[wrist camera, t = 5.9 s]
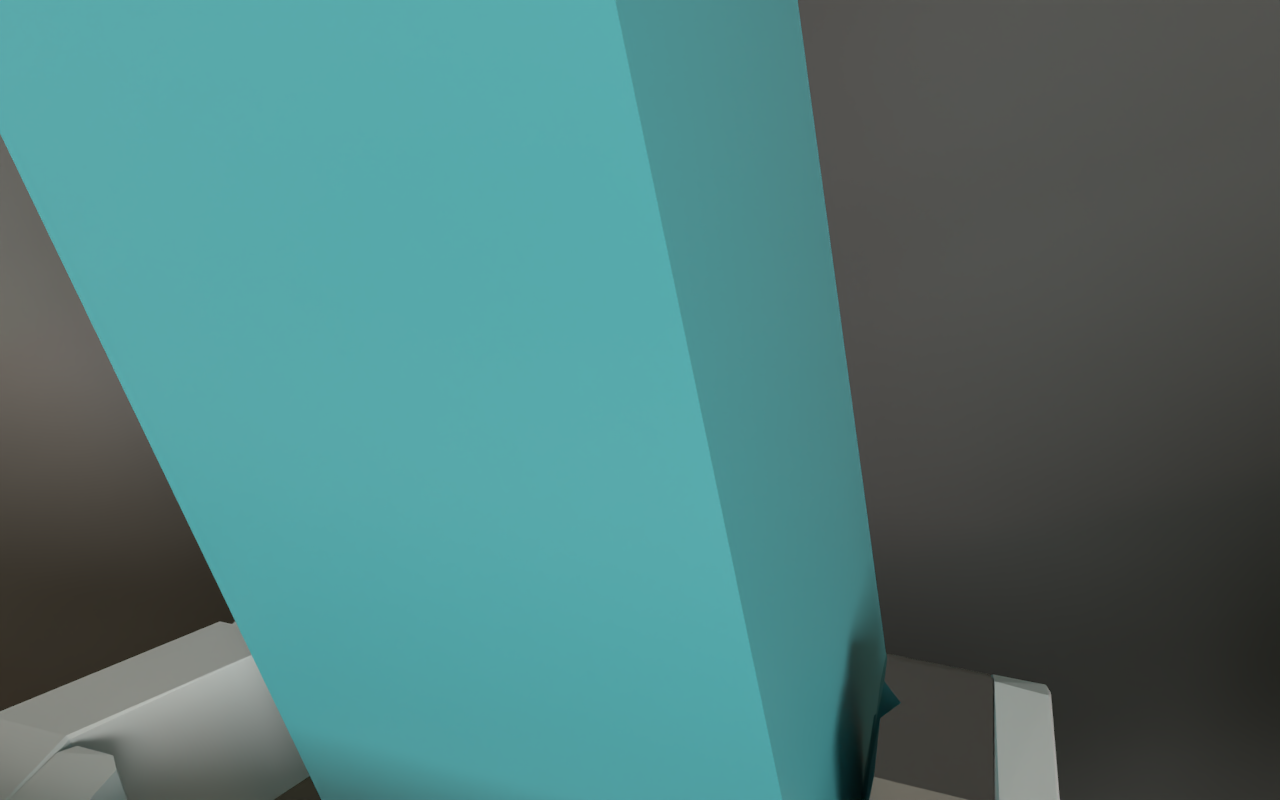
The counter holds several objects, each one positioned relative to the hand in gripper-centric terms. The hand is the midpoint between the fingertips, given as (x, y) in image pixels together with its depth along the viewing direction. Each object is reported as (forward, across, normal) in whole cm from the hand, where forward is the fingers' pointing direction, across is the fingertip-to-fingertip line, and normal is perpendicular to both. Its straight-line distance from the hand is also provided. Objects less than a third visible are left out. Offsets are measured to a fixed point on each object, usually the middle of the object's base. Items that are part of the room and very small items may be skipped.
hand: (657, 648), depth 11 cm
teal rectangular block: (+2, 0, 0) cm, 2 cm away
